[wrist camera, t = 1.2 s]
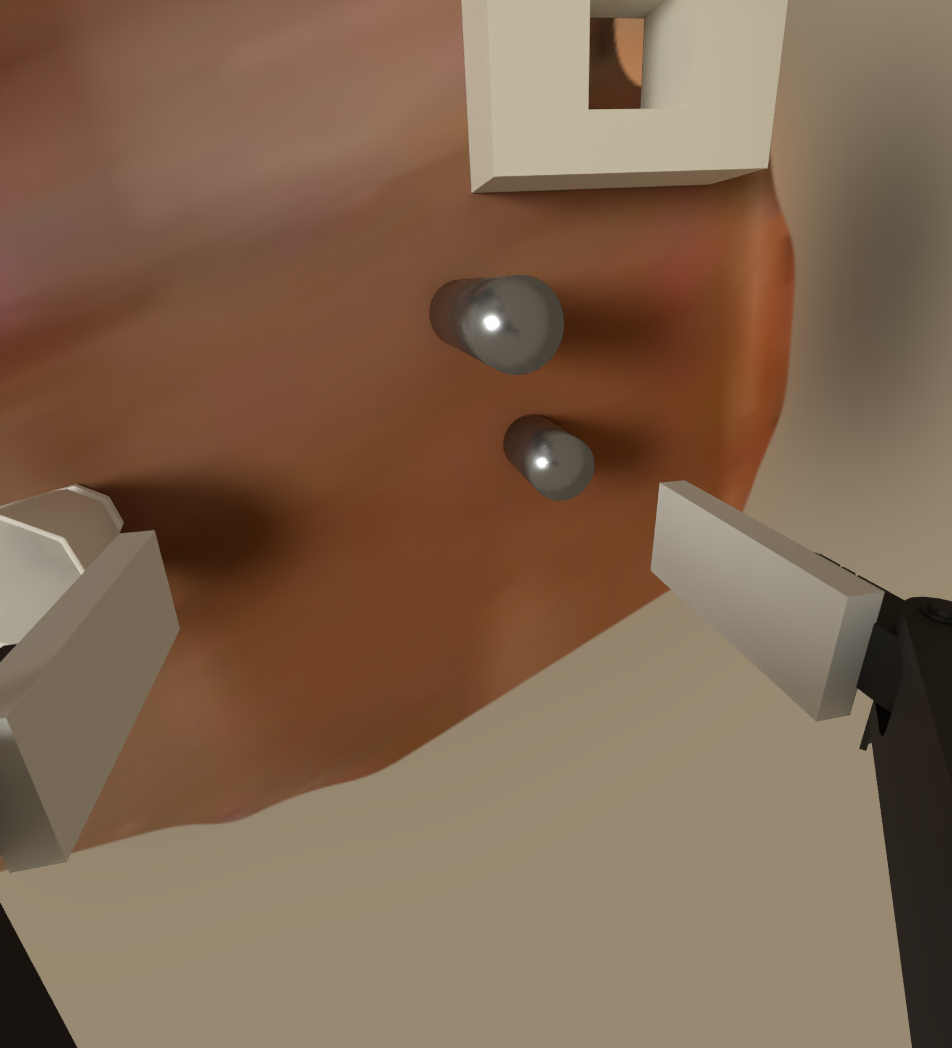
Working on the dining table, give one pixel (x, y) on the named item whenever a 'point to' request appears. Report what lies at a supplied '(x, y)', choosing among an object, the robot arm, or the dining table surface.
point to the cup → (48, 551)
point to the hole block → (619, 134)
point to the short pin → (549, 457)
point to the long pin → (500, 321)
